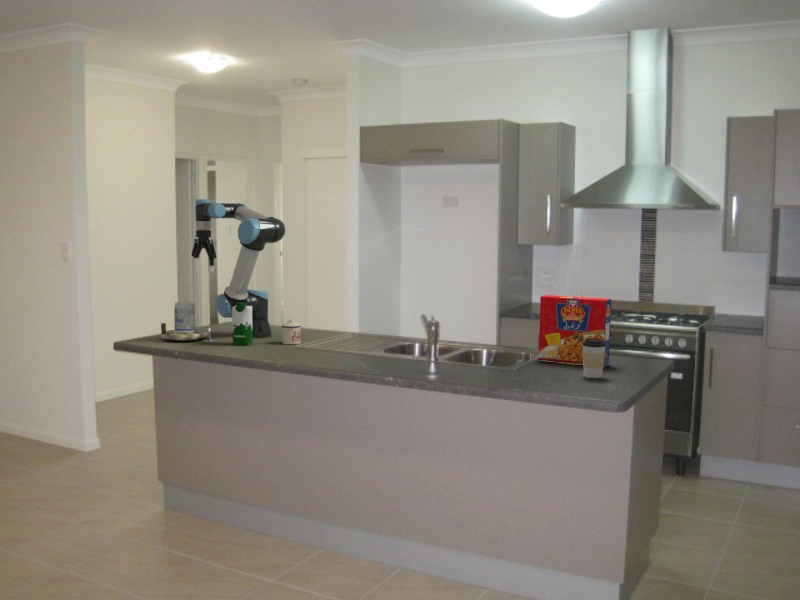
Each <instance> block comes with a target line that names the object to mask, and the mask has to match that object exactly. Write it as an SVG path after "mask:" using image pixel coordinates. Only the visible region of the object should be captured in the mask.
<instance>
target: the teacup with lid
mask: <svg viewBox="0 0 800 600" xmlns="http://www.w3.org/2000/svg"><path fill="white" fill-rule="evenodd" d="M288 320H289V321H286V322H285V323H282V324H281V343H282V344H283V345H285V344H297V345H300V344H301V326H302V325H301V324H300V323H298V322H296V321H294V319H293V318H290V319H288Z"/></svg>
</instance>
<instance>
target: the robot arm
mask: <svg viewBox="0 0 800 600" xmlns="http://www.w3.org/2000/svg"><path fill="white" fill-rule="evenodd" d="M194 210H195V229H196V231H195V237H196V238H194V239H193V240H194V242H193V248H192V251H191V257H192V258H193V261H194V262H193V263H194V264H193V265H194V266H193V267H194V271H200V265H201V262H200V261H201V260H200V254H201V252H202V250H203V249H204V250H205V252H206V254H207V256H208V258H207V259H208V261H207V263H208V265H207V266H208V267H207V268H208V273H214V271H215V270H214V267H215V259H216V258H217V253H216V250H215V246H214V239H213V238H212V230H211V229H212V219H214V220H215V219H234V220H237V221H239V222H240V224H239V225H238V228H237V233H238V234H237V237H238V241H239V244H240V245H241V248H240V250H239V254H238V258H237V260H236V264H235V266H234V270H233V272H232V273H233V274H232V277H231V280H230V282H229V284H228V285H227V286H226V287H225V288H224V291H223V293H220V294H218V295H217V297H216V300H215V301H216V302H215V305H216V309H217V311H218V313H219V316H221V317H223V318H224V319H225V318H227V319H228V318H229V319H232V307H234V306H237V302H245V306H252V339H253V338H254V339H257V338H260V339H261V338H269V337H272V336H273V333H272V332H273V331H272V328H271V326H270V322H269V296H268V292H267V291H264V290H257V289H248V288H249V284H250V281H251V279H252V276H253V273H254V270H255V266H256V263H257V260H258V258H259V255H260V254H259V253H260V252H261V251H263V250H264V249H265V246H266V244H272V243H273V244H275V243H278V242H279V241H281V240H282V239H283V238H284V236H285V234H286V226H285V223H284V222H283V221H282V220H280V219H279V218H276V217H274V216H267V215H264V214H261V213H260V212H257V211H255V210H252V209H249V207H248V206H247V204H246V203H241V202H240V203H239V202H238V203H235V202H234V203H224V202H221V203H220V202H212V201H211V199H209V198H208V199H207V198H201V199H200V198H197V199H196V200H195V209H194ZM210 238H212V239H210Z"/></svg>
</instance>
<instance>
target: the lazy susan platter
mask: <svg viewBox="0 0 800 600" xmlns="http://www.w3.org/2000/svg"><path fill="white" fill-rule="evenodd" d="M160 330H161V331H160V332H161V333H160V336H161V339H164V340H170V339H172V340H189V339H199V340H200V339H203V338H207V333H203V331H206V329H205V330H204V329H196V328H195V332H193V333H189V334H179V333H176V332H175V329H173V330H167V323H166V322H164V323H163V322H161V323H160Z"/></svg>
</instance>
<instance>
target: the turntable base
mask: <svg viewBox="0 0 800 600" xmlns="http://www.w3.org/2000/svg"><path fill="white" fill-rule="evenodd" d="M199 340H200V339H189V340H172V339H169V341H170V342H179V343H182V342H183V343H184V342H187V343H188V342H195V341H196V342H197V341H199Z"/></svg>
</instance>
